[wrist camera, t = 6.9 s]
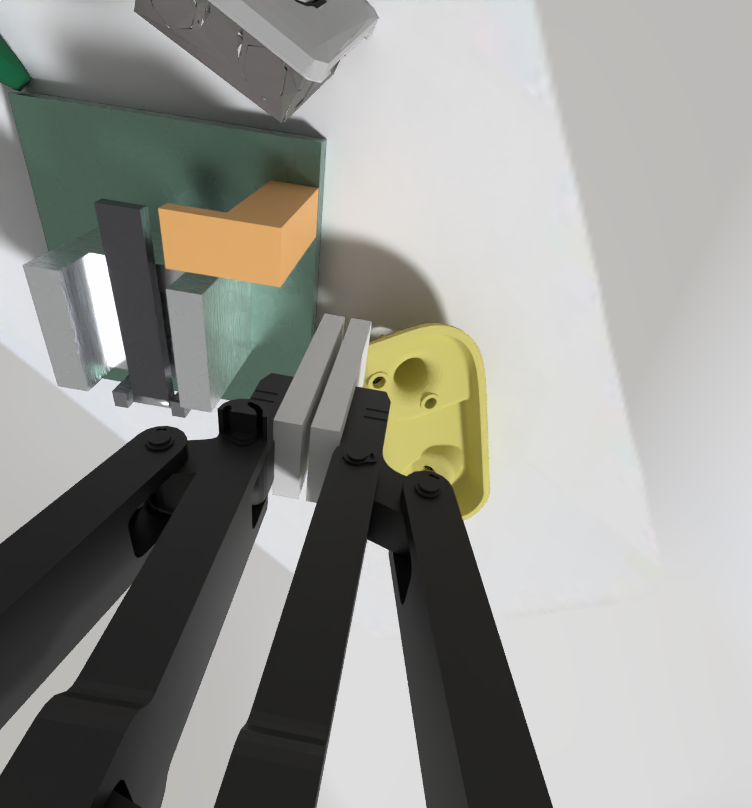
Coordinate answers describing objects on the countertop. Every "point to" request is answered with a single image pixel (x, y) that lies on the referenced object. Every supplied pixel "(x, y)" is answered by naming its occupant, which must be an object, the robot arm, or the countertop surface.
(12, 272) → the countertop surface
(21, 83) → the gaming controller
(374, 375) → the plastic component
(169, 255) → the block
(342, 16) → the electrical switch
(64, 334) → the green mounting baseplate
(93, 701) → the robot arm
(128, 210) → the strap
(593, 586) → the countertop surface
